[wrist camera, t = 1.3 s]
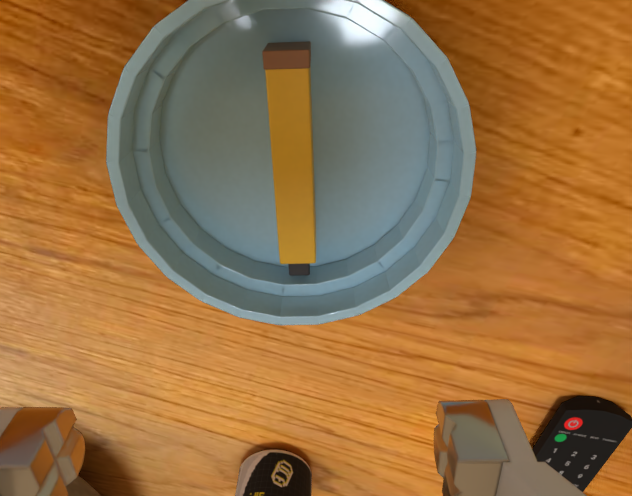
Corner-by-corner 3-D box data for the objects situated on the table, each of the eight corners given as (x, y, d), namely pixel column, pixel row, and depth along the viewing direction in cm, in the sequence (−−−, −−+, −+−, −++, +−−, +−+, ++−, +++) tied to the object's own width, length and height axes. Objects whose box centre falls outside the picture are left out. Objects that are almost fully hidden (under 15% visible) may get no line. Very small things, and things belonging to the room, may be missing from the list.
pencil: (267, 42, 25) (262, 51, 23) (310, 41, 25) (309, 49, 23) (283, 259, 31) (280, 284, 29) (317, 258, 31) (317, 283, 29)
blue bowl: (149, -72, 23) (114, -79, 19) (505, 23, 25) (539, 34, 21) (128, 250, 31) (101, 291, 27) (397, 304, 33) (407, 350, 29)
